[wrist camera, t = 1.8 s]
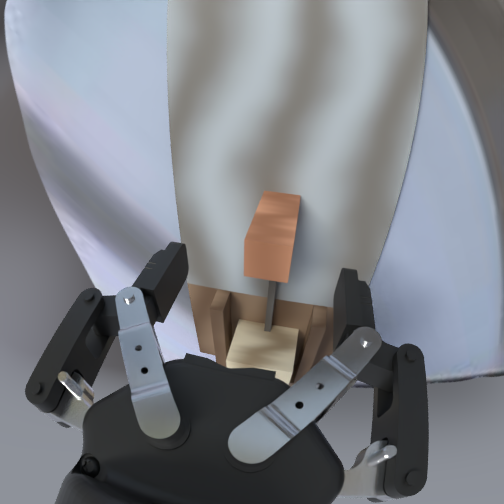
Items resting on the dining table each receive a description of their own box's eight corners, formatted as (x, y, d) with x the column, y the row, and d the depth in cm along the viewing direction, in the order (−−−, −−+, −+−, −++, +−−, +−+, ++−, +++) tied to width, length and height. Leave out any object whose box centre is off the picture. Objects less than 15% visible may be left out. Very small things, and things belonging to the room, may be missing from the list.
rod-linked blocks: (326, 199, 19) (327, 252, 14) (290, 359, 31) (282, 406, 26) (239, 187, 20) (211, 234, 15) (239, 351, 32) (226, 395, 27)
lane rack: (423, -17, 8) (441, -29, 6) (328, 368, 32) (327, 392, 30) (175, -33, 11) (151, -45, 8) (202, 346, 35) (194, 368, 32)
